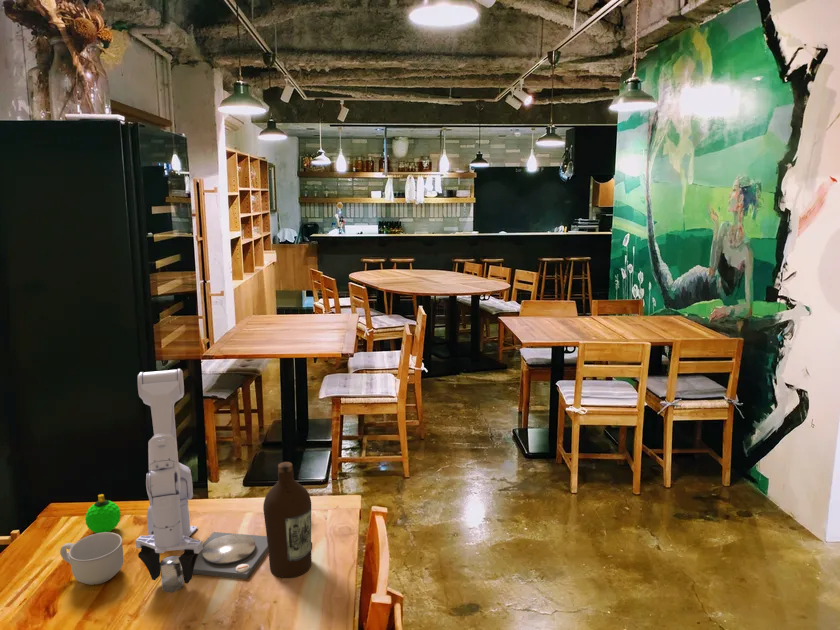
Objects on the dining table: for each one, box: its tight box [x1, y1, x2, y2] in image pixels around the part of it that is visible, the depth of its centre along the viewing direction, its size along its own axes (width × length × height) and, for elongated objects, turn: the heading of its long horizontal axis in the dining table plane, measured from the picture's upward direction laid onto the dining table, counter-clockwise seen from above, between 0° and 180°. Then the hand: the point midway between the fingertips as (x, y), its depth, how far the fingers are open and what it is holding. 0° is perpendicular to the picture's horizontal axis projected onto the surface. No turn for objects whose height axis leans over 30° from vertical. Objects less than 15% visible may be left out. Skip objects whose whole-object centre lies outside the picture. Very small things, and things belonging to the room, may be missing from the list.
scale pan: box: [202, 533, 255, 564], centre depth 151 cm, size 12×12×1 cm
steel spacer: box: [160, 555, 185, 593], centre depth 140 cm, size 4×4×6 cm
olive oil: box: [262, 461, 313, 579], centre depth 145 cm, size 11×11×25 cm
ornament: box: [84, 493, 122, 534], centre depth 163 cm, size 8×8×10 cm
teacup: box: [59, 531, 124, 586], centre depth 144 cm, size 14×11×8 cm
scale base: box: [182, 531, 268, 580], centre depth 151 cm, size 16×16×2 cm
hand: (172, 579), depth 140 cm, fingers open, 7 cm apart
